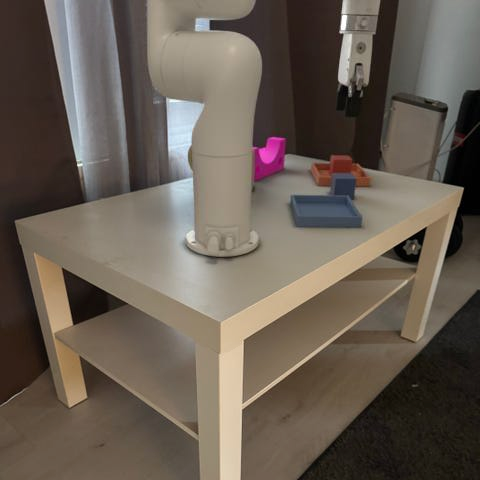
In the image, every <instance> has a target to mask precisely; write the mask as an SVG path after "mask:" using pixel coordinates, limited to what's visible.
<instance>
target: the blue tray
mask: <svg viewBox="0 0 480 480" xmlns="http://www.w3.org/2000/svg"><path fill="white" fill-rule="evenodd" d="M289 205H290V208H291V212H292V214H293V217H294V221H295V225H296V227H307V228H308V227H309V228H310V227H311V228H313V227H315V228H362V223H363V216H362V214H361V213H360V211H359V209H358V208H357V206H356V205H355V203H354V201H353V199H350V197H349V196H342V195H331V194H290V202H289Z"/></svg>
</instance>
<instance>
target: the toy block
mask: <svg viewBox="0 0 480 480" xmlns="http://www.w3.org/2000/svg"><path fill="white" fill-rule="evenodd" d="M252 149H254V151H255V168H254V182H257V181H258V180H260V179H263V178H266V177H267V176H270V175H272V174H275V173H276V172H279V171H282V170H284V169H285V154H286V138H283V137H277V136H272V137H271V136H270V137H269V138H267V141H266V146H265V147H262V148H260V147H255V146H253V147H252Z"/></svg>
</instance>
